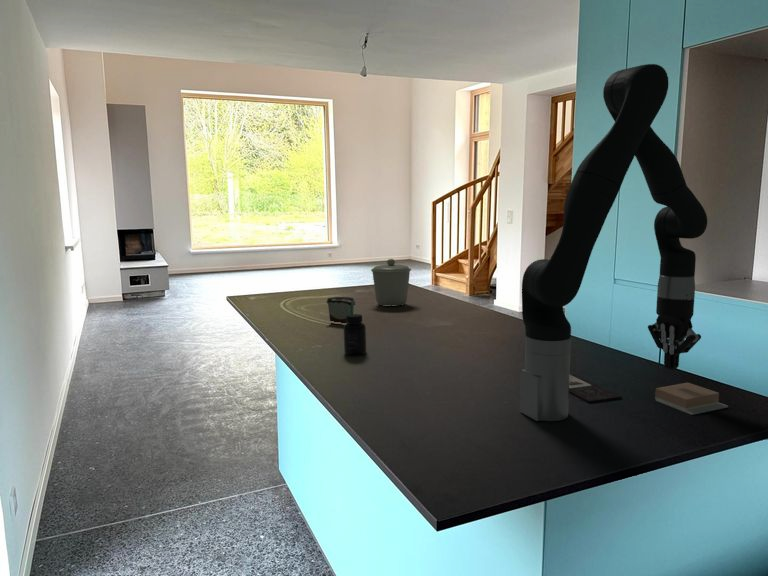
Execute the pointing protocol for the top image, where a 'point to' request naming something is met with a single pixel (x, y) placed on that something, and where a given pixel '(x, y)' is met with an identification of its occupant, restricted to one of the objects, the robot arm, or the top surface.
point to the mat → (697, 410)
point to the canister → (391, 283)
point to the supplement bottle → (354, 336)
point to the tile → (687, 396)
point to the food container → (340, 308)
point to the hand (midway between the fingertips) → (671, 368)
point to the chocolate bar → (589, 390)
